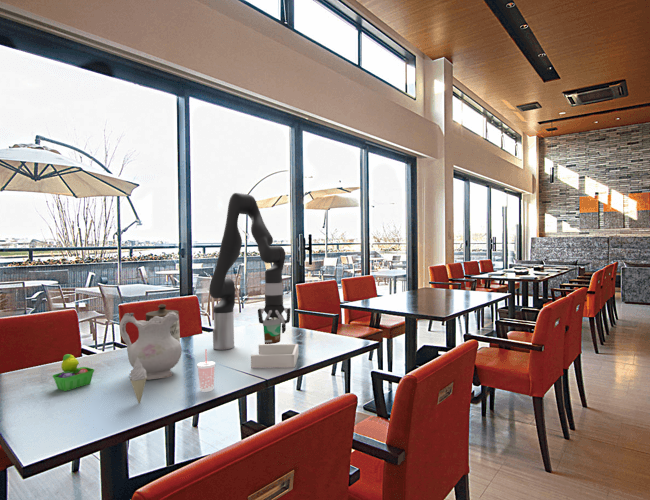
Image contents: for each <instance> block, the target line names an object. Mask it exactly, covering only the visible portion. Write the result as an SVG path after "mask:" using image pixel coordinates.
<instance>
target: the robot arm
mask: <svg viewBox="0 0 650 500" xmlns="http://www.w3.org/2000/svg"><path fill="white" fill-rule="evenodd" d="M240 215H246V216H248V217H249V218H250V219H251V226H250V232H251V235H252V237H253V239H254V241H255V243H256V244H257V248H258V253H259V257H260V259H261V261H262V262H264V263H265V264H272V266H271V267H269V268H267V269H266V270H265V273H264V284H265V285H264V308H263V307H262V308H258V309H257V316H258V323H259V324H262V325H263V320H268V319H271V318H273V317H275V318H278V317H279V319H280V320H281V322H282V323H281V334H284V333H285V332H286V329H287V328H286V324H289V323H290V322H291V312H292V311H291V310H292V309H291V307H285V306H284V294H283V293H284V289H283V288H284V287H283V276H282V275H283V269H284V265H285V261H286V250H285V249H284V248H283V247H282V246H280V245H272V244H273V242H274V239H273V238H274V237H273V236H272V235H271V233H270V231H269V229H268V228H267V225H266V224H265V222H264V219H263V217H262V215H261V211H260V209H259V205H258V203H257V201H256V199H255V197H254V196H253V195H251V194H246V193H242V192H241V193H239V192H234V193H232V195H230V198H229V201H228V206H227V213H226V221H225V224H224V225H225V227H224V230H223V236H222V240H221V242H220V248H219V253H218V257H217V260H216V265H215V268H214V271H213V274H212V277H211V280H210V283H209V291H208V292H209V295H210V297H211V298H212V299H217V300H218V299H220V300H219V302H218V303H216V304H215V305H214V307H213V329H212V343H213V344H212V349H213V350H221V351H222V350H231V349H233V348H234V347H235V324H234V321H235V320H234V307H235V306H236V305H235V304H236V285H235V282H234V280H233V279H232V278H230V277H227V274H228V272H229V270H230V269H231V267H233V265H234V264H235V262H236V261H237V260H238V258H239V257H240V253H241V250H242V245H243V240H242V236H241V233H240V229H239V226H238V225H239V224H238V222H239V216H240ZM264 312H265V314H266V317H265V319H263V317H264V316H263V314H264ZM284 312H285V314H286V319H285V318H284V315H283V313H284Z"/></svg>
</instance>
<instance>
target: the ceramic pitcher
mask: <svg viewBox="0 0 650 500" xmlns="http://www.w3.org/2000/svg"><path fill="white" fill-rule="evenodd" d="M134 315H135V313H134V312H130V313H129V312H127V313H124V314H123V316H122V318H121V320H120V323H119V335H120V336H121V337H122V340H123V342H124V344H126V352H127V357H128V358H127V359H128V362H129V364H130V366H131V368H133V366H134V364H135V361H136V359H137V357H138V359H139V361H140V363H141V364H142V367H143V368H144V369H145V370H146V376H147V378H146V381H148V380H157V379H166V378H170V377H172V376H173V375H174V374H173V373H172V371H171V369H173V368H174V367H176V365H177V364H178V362H179V361H180V359H181V356H182V351H183V350H182V344H181V341H180V342H179V341H178V340H176V339H175V338H174V337H172V335H171V333H170V328H171V326H172V324H173V323H174V322H176V321H178V320H179V321H180V315H179V316H178V314H176V313H175V312H169V313H168V314H167V315H166V316H164V317H159V316H155V317H153V318H152V319H150V320H149V321H146V320H144V319H143V320H137V319H136V318H135V316H134ZM128 323H132V324H133V325H135V327H136V328H137V331H138V338H137V339H136V341H135V342H133V343H132V342H131V339H130V336H129V334H128V333H127V331H126V330H127V329H126V326H127V324H128Z"/></svg>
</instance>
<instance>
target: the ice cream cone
mask: <svg viewBox="0 0 650 500" xmlns="http://www.w3.org/2000/svg"><path fill="white" fill-rule="evenodd" d="M129 376H130V377H129V381H130V382H131V386H132V389H133V391H134V395H135V397H136V401H137V403H138V404H141V402H142V397H143V394H144V391H145V390H144V389H145V387H146V386H145V385H146V382H147V380H146V378H147V376H146V370H145V369H144V368H143V367H142V364H141V363H140V361H139V359H138V357H137V359H136V361H135V364H134V366H133V367H132V369H131V370H130V373H129Z"/></svg>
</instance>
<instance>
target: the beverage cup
mask: <svg viewBox="0 0 650 500" xmlns="http://www.w3.org/2000/svg"><path fill="white" fill-rule="evenodd" d="M207 353H208V352H207V348H205V352H204V354H205V355H204V356H205V361H201V362H198V363H197V364H196V366H197V369H198V370H197V371H198V382H199V383H198V384H199V391H200V392H203V393H208V392H212V391H213V390H215V389H214V387H215V366H216V361H211V360H208V354H207Z"/></svg>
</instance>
